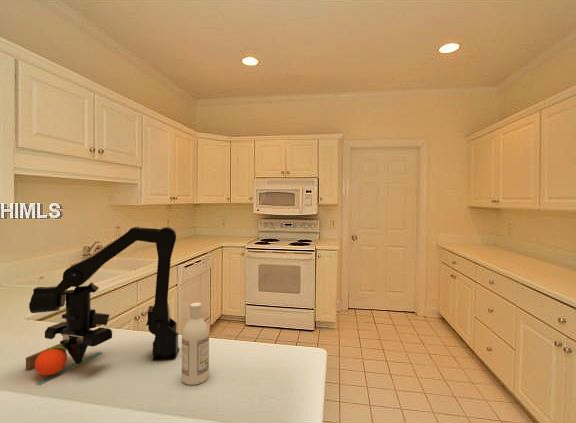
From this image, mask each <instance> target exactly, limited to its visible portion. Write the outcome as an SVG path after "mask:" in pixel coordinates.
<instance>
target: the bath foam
mask: <svg viewBox="0 0 576 423" xmlns="http://www.w3.org/2000/svg"><path fill="white" fill-rule="evenodd" d="M209 364H210V332H209V326H208V324H207V322H206V321H205V320H204V318H203V317H202V303H201V302H193V303H190V304H189V319H188V320H187V322H186V324H185V325H184V326H183V330H182V334H181V380H182V382H183V384H185V385H188V386H194V385H199V384H202V383H203V382H205V381H206V380H207V379H208V378H209V374H210V368H209V367H210V365H209Z"/></svg>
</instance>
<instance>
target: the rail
mask: <svg viewBox="0 0 576 423" xmlns="http://www.w3.org/2000/svg"><path fill="white" fill-rule="evenodd" d="M56 346H61V347H64V346H63V345H62V344H60V343H57V344H56V345H53V346H51V347H49V348H52V347H56ZM62 349H64V348H62ZM44 350H45V349H43V350H41V351H38V352H36V353H34V354H32V355H30V356H27V357H25V371H32V370H34V369H35V361H36V359H37V357H38V356H39V354H40V353H41V352H43V351H44ZM64 351H65V352H66V353H67V350H66V349H64ZM35 370H36V369H35Z"/></svg>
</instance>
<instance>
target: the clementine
mask: <svg viewBox="0 0 576 423" xmlns="http://www.w3.org/2000/svg"><path fill="white" fill-rule="evenodd" d="M51 347H52V348H50V347H47V348H46V349H43V350H44V351H43V350H42V351H43V352H41V351H40V352H41V353H40V354H39V356H38V357H37V359H36V361H35V372H37V373H38V374H39V375H41V376H47V377H49V376H51V375H53V374H55V373H57V372H59V371H61V370H63V369H64V367H65V366H66V364H67V360H68V353H67V352H68V350H67V349H66V348H65V347H61V346H56V347H53V346H51ZM62 348H64V349H66V352H65V351H64V349H62Z"/></svg>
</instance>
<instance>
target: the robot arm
mask: <svg viewBox="0 0 576 423" xmlns="http://www.w3.org/2000/svg"><path fill="white" fill-rule="evenodd" d="M176 240H177V232H176V231H175V229H174V228H172V227H169V226H164V227H162V228H161V227H160V228H150V227H149V228H148V227H140V226H134V227H131V228H130V229H129V230H128V231H127V232H126V233H124V234H122V235H121V236H119V238H117V239H115V240H114V241H113V242H111V243H110V244H108V245H107V246H106V247H104V248H102V249H101V250H100V251H98V252H97V253H95V254H94V255H92V256H90V257H87V258H86V259H84V260H81V261H80V262H77V263H74V264H73V265H71V266H70V267H68V268H67V269H65V270H64V271H63V273H62V280H61V281H60V282H59V283H58V284H57V285H55V286H36V287H35V288H34V289H33V290H32V291H33V293H32V295H31V297H30V301H29V303H28V308H29V311H30V313H31V314H38V313H39V314H40V313H49V312H57V311H60V309H61V308H62V307H64V306H65V313H63V314H61V319H65V321H62V322H60V323H57V324H54V325H51V326H48V327H47V328H46V329H45V331H44V339H48V340H53V339H54V338H56V335H58V334H60V335H61V336H62V340H60V342H59V344H62V345H63V346H64V347H65V348H66V349H67V350H68V351H67V350H66V351H67V353H68V354H69V355H70V357H71V358H72V360H73V361H74V362H75V363H76V364H79V363H81V362H82V360H83V359H84V357H85V353H86V351H87V348H88V347H96V346H98V345H100V344H103V343H105V342H107V341H109V340H111V339H112V338H113V330H112V329H110V328H108V327H98V328H97V326H98V325H99V326H102V325H103V326H107V325H108V322H109V318H110V314H108V313H102V312H96V310H95V309H92V308H91V293H92V294H93V293H96V292H97V291H98V290H100V287H99V286H97V285H96V284H94V283H93V282H90V283H89V284H88V285H84V284H85V283H86V282H88V280H90V279H91V278H92V277H93V276H94V275H95V274H96V273H97V272H98V271H99V270H100V269H101V267H103V266H104V264H106V263H107V262H109V261H110V260H111V259H113V258H114V257H116V256H117V255H119V254H121V252H122V251H124V250H126V249H127V248H129V247H130V246H131V245H133V244H134V243H136V242H137V241H139V242H144V243H145V242H146V243H154V244H156V247H155V248H156V252H157V266H156V268H157V269H156V281H155V295H154V304H153V305H149V306H148V309H147V312H146V314H147V321H146V324H145V326H146V327H148V331H149V333H151V334H152V335H153V336H154V340H153V341H152V356H153V357H152V361H167V360H175V359H177V358H176V357H177V356H178V353H179V352H180V347H179V332H177V327H178V326H177V325H178V323H177V322H176V321H175V320H174V319H172V318H171V315H170V306H169V300H168V299H169V288H170V286H169V285H170V272H171V261H172V256H173V251H174V247H175V245H176V244H175V243H176ZM71 287H74V289H70V288H71ZM94 328H95V329H94ZM75 363H74V364H75Z"/></svg>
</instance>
